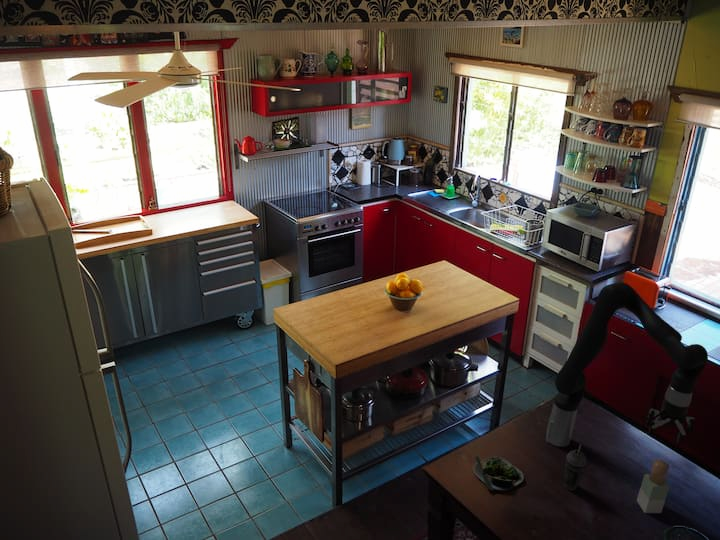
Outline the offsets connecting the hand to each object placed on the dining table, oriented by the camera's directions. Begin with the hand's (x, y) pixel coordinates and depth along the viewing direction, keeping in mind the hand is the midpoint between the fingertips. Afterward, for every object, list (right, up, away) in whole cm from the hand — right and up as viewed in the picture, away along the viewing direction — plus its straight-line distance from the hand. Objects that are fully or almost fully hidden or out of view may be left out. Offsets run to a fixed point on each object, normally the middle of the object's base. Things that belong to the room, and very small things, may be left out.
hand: (664, 438), depth 206 cm
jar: (-1, -16, +4) cm, 16 cm away
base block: (-1, -27, +9) cm, 28 cm away
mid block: (-1, -21, +6) cm, 22 cm away
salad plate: (-53, -20, +19) cm, 60 cm away
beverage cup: (-27, -22, +16) cm, 38 cm away
